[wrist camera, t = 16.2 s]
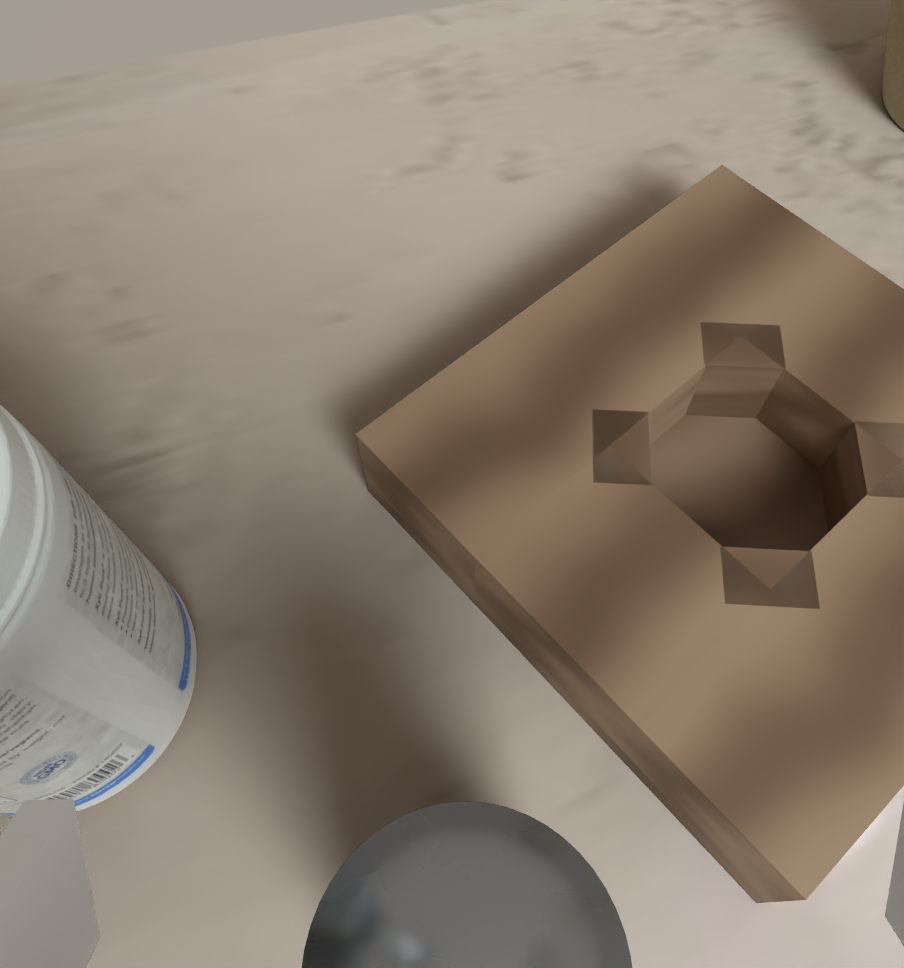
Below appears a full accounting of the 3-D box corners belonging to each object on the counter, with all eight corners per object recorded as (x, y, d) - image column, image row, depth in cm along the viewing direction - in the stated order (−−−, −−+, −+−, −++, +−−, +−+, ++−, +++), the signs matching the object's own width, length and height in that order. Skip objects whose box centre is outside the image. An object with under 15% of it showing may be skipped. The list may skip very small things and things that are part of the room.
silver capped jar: (342, 912, 27) (248, 904, 16) (503, 817, 29) (523, 744, 17) (430, 1113, 25) (393, 1275, 13) (601, 998, 26) (702, 1057, 15)
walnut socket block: (368, 490, 34) (355, 434, 30) (696, 240, 40) (721, 164, 36) (756, 902, 27) (805, 899, 23) (1086, 526, 33) (1170, 472, 29)
